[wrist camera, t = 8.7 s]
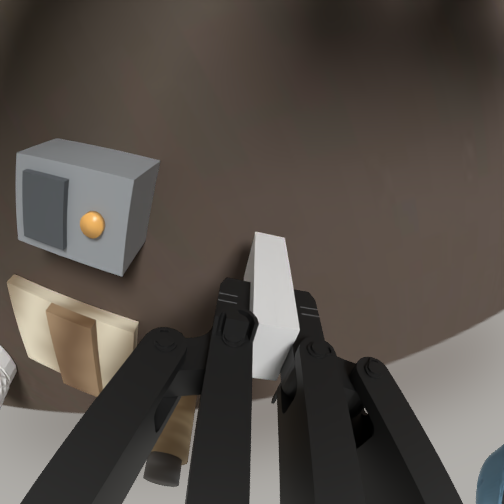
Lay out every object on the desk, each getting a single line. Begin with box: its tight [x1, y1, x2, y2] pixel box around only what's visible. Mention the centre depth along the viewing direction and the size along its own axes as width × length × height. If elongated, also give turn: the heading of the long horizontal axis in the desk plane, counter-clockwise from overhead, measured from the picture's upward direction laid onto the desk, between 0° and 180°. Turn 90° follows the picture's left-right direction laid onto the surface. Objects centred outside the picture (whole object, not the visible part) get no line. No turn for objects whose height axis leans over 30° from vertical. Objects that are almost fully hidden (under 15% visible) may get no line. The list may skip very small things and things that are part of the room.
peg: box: [144, 395, 197, 487], centre depth 19 cm, size 3×3×10 cm
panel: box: [7, 274, 139, 397], centre depth 20 cm, size 12×10×2 cm
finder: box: [16, 138, 160, 276], centre depth 13 cm, size 7×5×4 cm
